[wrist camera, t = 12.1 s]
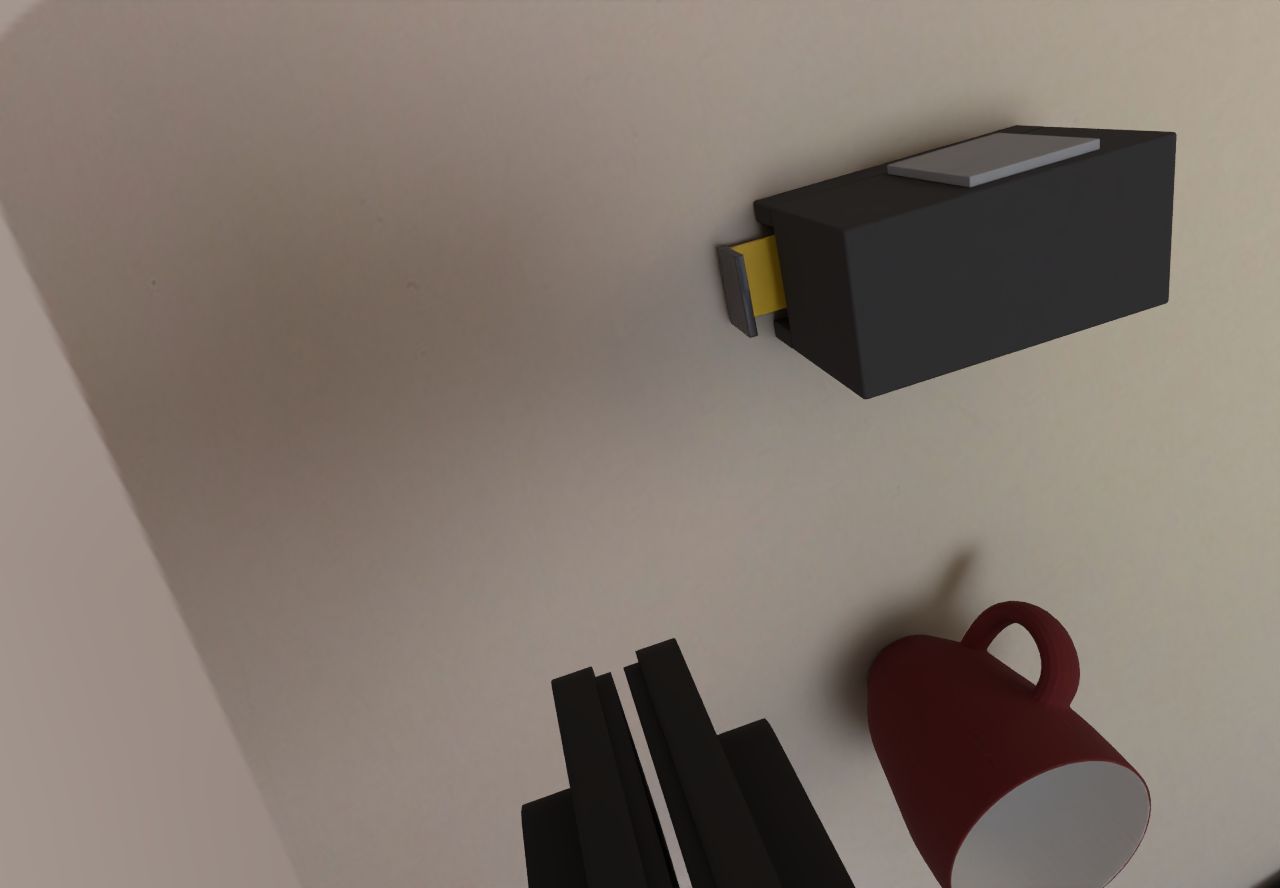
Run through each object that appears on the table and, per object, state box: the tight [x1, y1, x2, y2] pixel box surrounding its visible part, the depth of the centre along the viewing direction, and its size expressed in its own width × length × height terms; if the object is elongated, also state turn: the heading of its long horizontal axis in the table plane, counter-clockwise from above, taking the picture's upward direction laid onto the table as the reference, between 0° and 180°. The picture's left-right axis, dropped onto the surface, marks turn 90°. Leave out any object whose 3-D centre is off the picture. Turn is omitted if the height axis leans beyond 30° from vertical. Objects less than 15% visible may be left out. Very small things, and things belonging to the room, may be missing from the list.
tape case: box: [754, 125, 1176, 399], centre depth 26 cm, size 10×6×7 cm, turn 104°
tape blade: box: [717, 234, 787, 338], centre depth 28 cm, size 10×3×2 cm, turn 104°
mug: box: [867, 601, 1151, 888], centre depth 33 cm, size 10×8×10 cm
